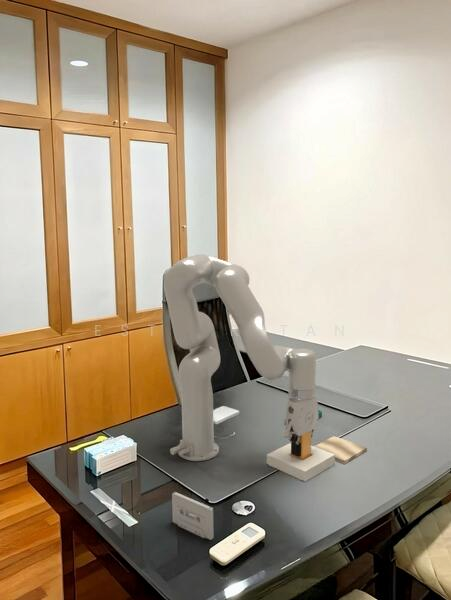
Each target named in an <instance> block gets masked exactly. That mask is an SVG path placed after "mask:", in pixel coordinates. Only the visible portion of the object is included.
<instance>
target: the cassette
mask: <svg viewBox="0 0 451 600" xmlns="http://www.w3.org/2000/svg"><path fill="white" fill-rule="evenodd" d="M171 506H172V507H171V508H172V522H173V524H175V525H177V526H178V527H179V528H182V529H184V530H186V531H188V532H189V533H192V534H194V535H196V536H199V537H200V538H203V539H208V540H210V541H211V540H213V539H214V532H215V531H214V508H213V507H211V506H209V505H207V504H205V503H202V502H199V501H197V500H195V499H193V498H190V497H188V496H186V495H184V494H181V493H179V492H176V491H174V492H173V493H171Z"/></svg>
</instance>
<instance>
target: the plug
mask: <svg viewBox="0 0 451 600" xmlns="http://www.w3.org/2000/svg"><path fill="white" fill-rule="evenodd" d="M296 436H297V435H295V434H294V437H295V438H296ZM300 444H301V456H300V457H297V456H295V455H293V454H291V456H293V457H295V458H297V459H300V460H302V461H303V460H304V459H306V458H308V457H310V456H311V445H312V438H311V431H309V432H307V433H305V434H303V435H301V436H300Z"/></svg>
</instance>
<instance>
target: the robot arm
mask: <svg viewBox="0 0 451 600" xmlns="http://www.w3.org/2000/svg"><path fill="white" fill-rule="evenodd" d="M200 284H206V285H208V286H209V285H210V286H213V287H214V288H215V291H216V293H217V294H218V296H219V298H220V299H221V302H223V304H224V306H225V308H226V309H227V311H228V312H229V315H231V318H232V319H233V321H234V323H235V324H236V327H237V330H238V333H239V336H240V338H241V342H242V344H243V348H244V349H245V352H246V354H247V356H248V358H249V360H250V361H251V362H252V364H253V367H254V368H255V369H256V371H257V373H258V374H259V375H260V376H261V377H262V378H264V379H266V380H269V381H275V380H276V381H277V380H278V379H280V378H282V376H284V374H285V372H288V399H287V404H286V411H285V419H286V425H285V429H286V430H285V432H284V435H283V436H284V438H285V439H288V440H289V442H290V443H291V454H293V455H295V456H297V457H300V456H301V444H300V436H301V435H303V434H305V433H307V432H309V431H311V439H312V438H313V437H314V436H313V433H314V431H315V429H316V428H318V426H319V423H320V422H319V421H320V420H319V419H320V418H319V415H318V410H319V405H318V404H319V403H318V398H317V395H316V370H317V369H316V368H317V367H316V366H317V364H316V363H317V358H316V357H317V356H316V353H315V352H314V350H311V349H309V348H292V347H287V346H283V345H273V344H272V342H271V340H270V338H269V336H268V334H267V333H268V332H267V331H266V330H267V329H266V324H265V321H266V320H265V314H264V311H263V308H262V306H261V305H260V303H259V302H258V300H257V299H256V297H255V294H254V293H253V292H252V290H251V288H250V287H249V284H250V275H249V273H248V271H247V270H246V269H245V268H244V267H243V266H241V265H239V264H236V263H232V262H229V261H226V260H222V259H220V258H217V257H213V256H210V255H207V254H195V255H191V256H188V257H185V258H182V259H181V260H178V261H177V262H175V264H173V265H172V266H171V267H170V268H169V269H168V270H167V272H166V273H165V276H164V280H163V290H164V292H163V293H164V295H165V299H166V303H167V308H168V313H169V319H170V323H171V326H172V331H173V335H174V341H176V344H177V345H178V347H180V348H182V349H183V350H189V353H187V354H186V355H185V356H184V357H183V358H182V360H181V362H180V364H179V366H178V380H179V385H180V386H179V387H180V394H181V395H180V398H181V430H182V431H181V432H182V439H180V440H179V443H178V445H176V446H174V447H171V448H170V449H169V452H170V453H169V454H170V455H172V456H174V455H176V454H178V456H179V457H181V458H182V459H184V460H187V461H192V462H203V461H208V460H212V459H214V458H215V457H216V456H218V455H219V452H220V446H219V445H218V444H217V443H216V442H215V439H214V436H215V435H214V431H215V429H214V423H213V410H214V394H213V387H212V386H213V385H212V382H211V380H212V376H213V375H214V373H215V372H216V371H217V370H218V369H219V368H220V364H221V354H220V353H221V352H220V348H219V344H218V339H217V335H216V330H215V326H214V323H213V320H212V319H211V318H210V316H209V315H207V314H206V313H204V312H202V311H199V308H198V302H197V299H196V297H195V294H194V292H193V288H194V287H196V286H198V285H200ZM294 434H295V435H297V436H296V438H295V437H294Z"/></svg>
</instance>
